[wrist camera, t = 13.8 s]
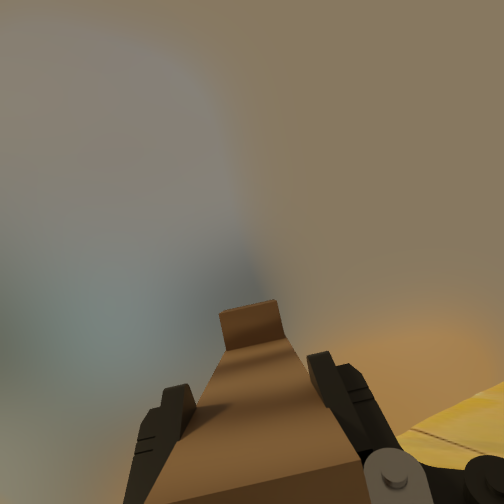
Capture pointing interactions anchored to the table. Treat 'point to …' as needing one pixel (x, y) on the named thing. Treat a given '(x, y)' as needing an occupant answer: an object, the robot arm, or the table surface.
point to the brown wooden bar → (260, 429)
